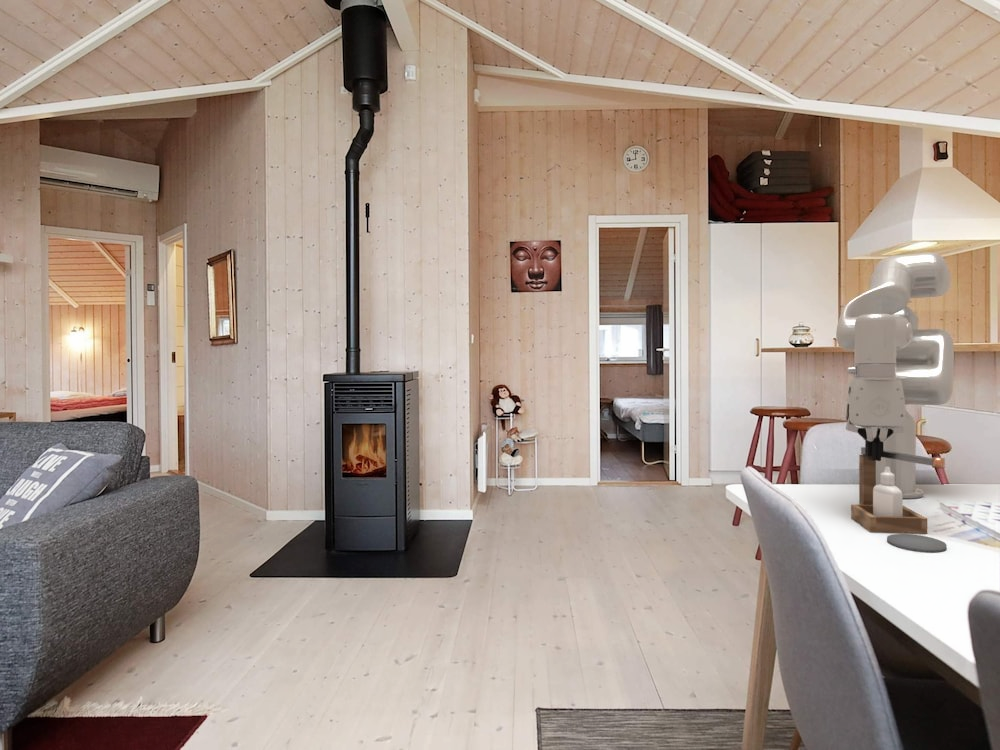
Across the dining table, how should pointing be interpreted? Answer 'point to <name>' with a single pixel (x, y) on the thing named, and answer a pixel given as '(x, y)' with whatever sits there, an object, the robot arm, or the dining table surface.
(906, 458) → the ball-tipped grey rod
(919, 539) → the mat
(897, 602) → the dining table surface
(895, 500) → the eye dropper bottle
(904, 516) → the wooden frame with post
